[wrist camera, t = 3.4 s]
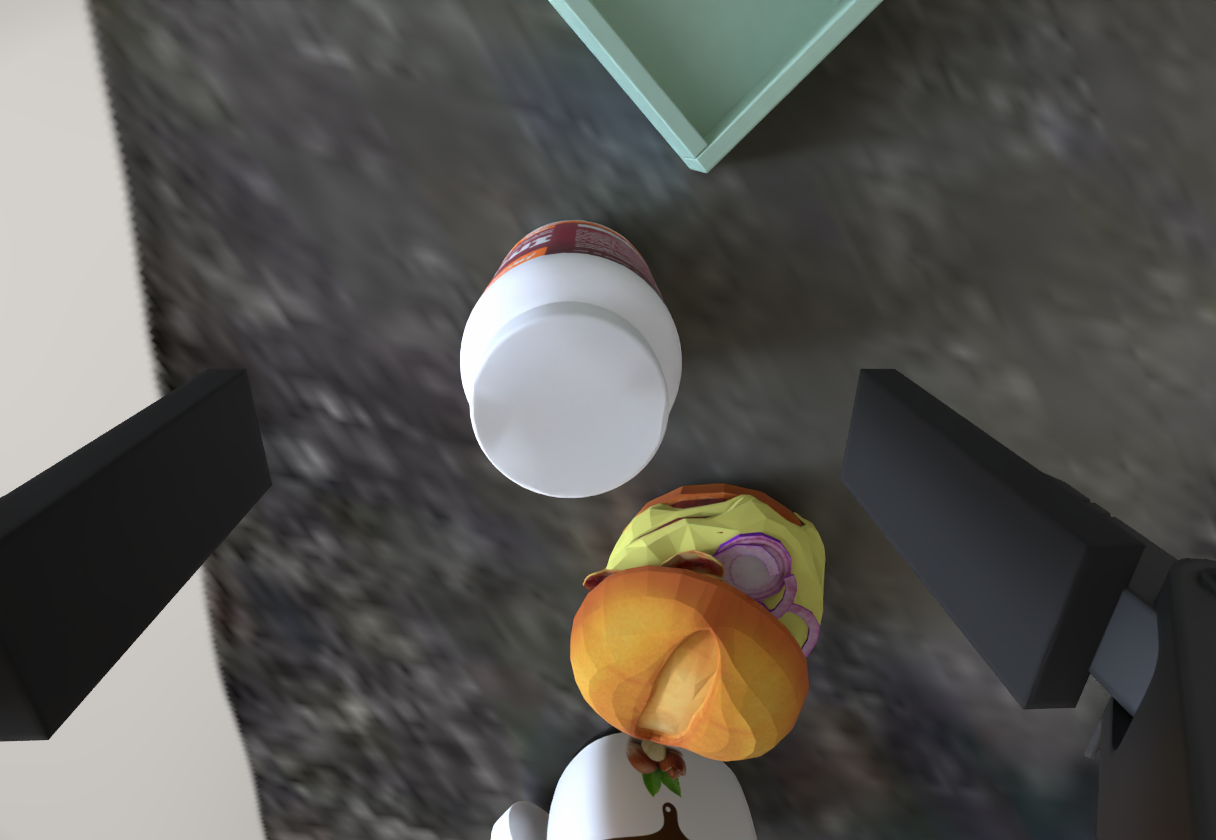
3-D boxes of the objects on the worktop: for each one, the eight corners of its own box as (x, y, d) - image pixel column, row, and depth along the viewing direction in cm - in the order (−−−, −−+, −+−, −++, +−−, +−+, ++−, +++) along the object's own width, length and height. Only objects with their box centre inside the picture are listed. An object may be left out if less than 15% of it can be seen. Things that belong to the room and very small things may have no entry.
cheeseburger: (842, 606, 31) (880, 811, 23) (640, 630, 35) (607, 816, 26) (797, 436, 27) (823, 608, 18) (572, 482, 30) (507, 646, 22)
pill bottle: (531, 187, 23) (494, 225, 13) (681, 260, 24) (754, 347, 14) (471, 338, 25) (399, 470, 15) (611, 397, 26) (631, 556, 16)
